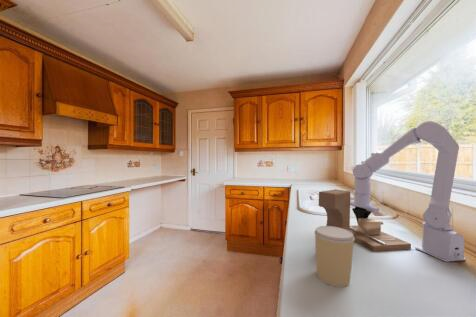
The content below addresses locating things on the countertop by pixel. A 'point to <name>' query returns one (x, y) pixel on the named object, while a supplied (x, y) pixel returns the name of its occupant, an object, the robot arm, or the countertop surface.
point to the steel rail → (368, 236)
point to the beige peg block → (369, 226)
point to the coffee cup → (334, 255)
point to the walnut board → (390, 241)
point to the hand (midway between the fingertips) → (361, 226)
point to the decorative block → (336, 207)
